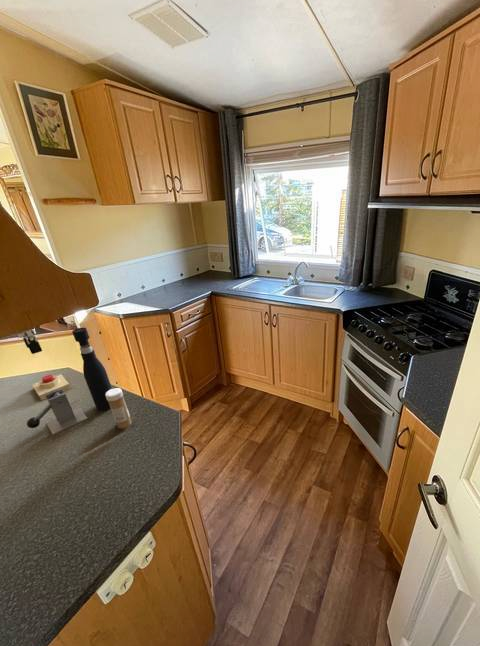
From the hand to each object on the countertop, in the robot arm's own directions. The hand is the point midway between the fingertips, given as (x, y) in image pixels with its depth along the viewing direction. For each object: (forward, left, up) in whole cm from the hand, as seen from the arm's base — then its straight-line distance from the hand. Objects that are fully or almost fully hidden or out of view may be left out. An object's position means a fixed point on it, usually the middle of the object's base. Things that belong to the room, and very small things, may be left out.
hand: (34, 349), depth 108 cm
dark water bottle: (+10, -31, -18) cm, 37 cm away
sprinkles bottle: (+10, -46, -18) cm, 50 cm away
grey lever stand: (-2, -29, -18) cm, 34 cm away
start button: (0, 0, -14) cm, 14 cm away
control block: (0, 0, -18) cm, 18 cm away
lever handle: (-5, -29, -12) cm, 32 cm away
